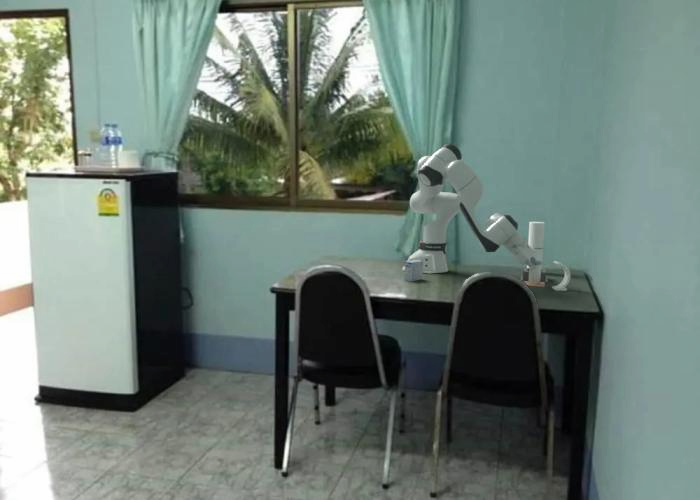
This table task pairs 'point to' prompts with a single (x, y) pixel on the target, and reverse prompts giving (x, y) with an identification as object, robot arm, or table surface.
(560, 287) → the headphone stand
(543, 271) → the filter housing
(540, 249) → the cylindrical container
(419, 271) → the medicine box
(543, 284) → the mat
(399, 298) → the table surface
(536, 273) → the filter cartridge
